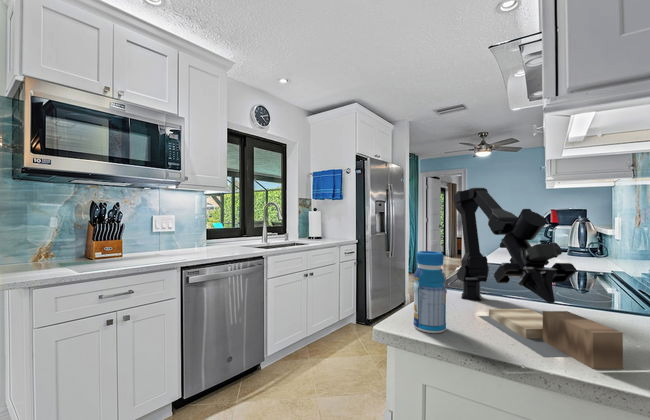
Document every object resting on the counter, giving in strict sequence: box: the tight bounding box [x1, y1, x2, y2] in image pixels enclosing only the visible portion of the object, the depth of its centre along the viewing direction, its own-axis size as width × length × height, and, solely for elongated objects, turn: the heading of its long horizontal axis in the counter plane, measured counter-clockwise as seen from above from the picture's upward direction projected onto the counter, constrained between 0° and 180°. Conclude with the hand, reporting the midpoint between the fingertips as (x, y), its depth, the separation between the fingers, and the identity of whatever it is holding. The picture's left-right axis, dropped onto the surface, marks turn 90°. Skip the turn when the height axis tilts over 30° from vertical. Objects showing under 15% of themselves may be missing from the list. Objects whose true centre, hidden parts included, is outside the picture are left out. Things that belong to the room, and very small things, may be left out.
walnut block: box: [542, 310, 624, 370], centre depth 66 cm, size 7×6×13 cm
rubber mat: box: [477, 315, 572, 358], centre depth 77 cm, size 26×15×1 cm, turn 2°
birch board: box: [488, 308, 543, 338], centre depth 81 cm, size 16×12×2 cm
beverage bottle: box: [412, 250, 448, 334], centre depth 80 cm, size 8×8×20 cm
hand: (552, 302), depth 73 cm, fingers closed
